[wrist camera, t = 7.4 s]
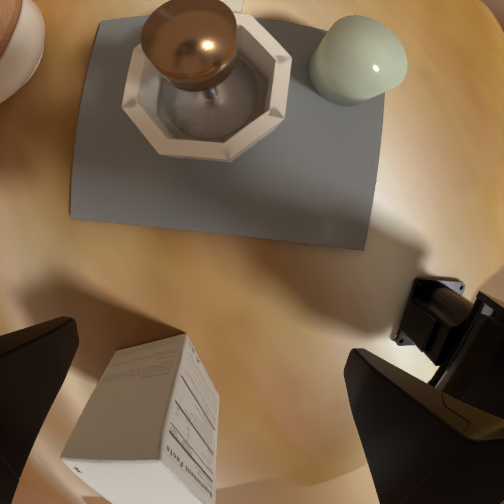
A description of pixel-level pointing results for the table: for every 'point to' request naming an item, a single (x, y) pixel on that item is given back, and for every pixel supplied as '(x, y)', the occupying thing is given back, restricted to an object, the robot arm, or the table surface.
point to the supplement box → (149, 428)
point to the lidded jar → (19, 44)
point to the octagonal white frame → (228, 147)
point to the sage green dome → (356, 61)
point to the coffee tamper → (200, 67)
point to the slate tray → (225, 173)
